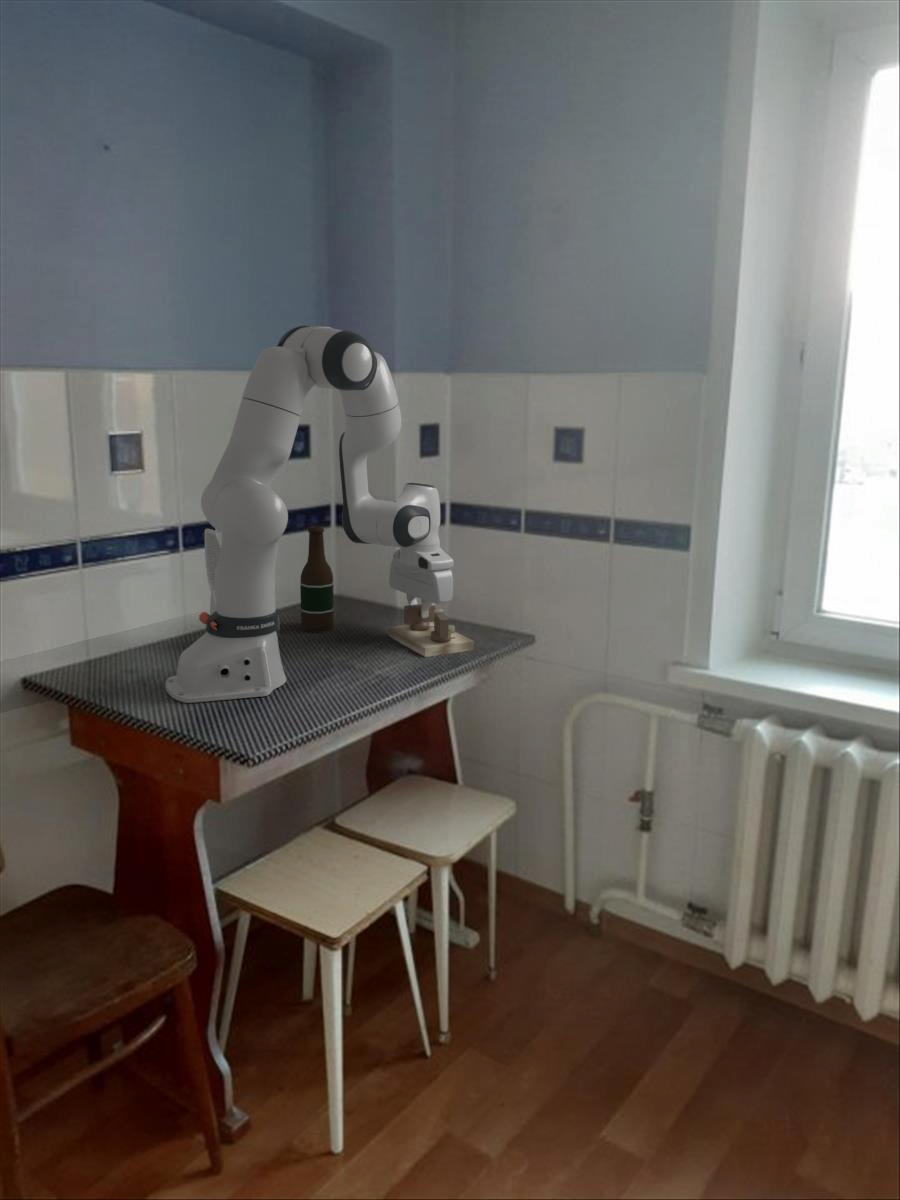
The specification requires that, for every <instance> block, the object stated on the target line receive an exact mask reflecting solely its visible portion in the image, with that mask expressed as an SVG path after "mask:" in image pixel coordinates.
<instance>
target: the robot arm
mask: <svg viewBox="0 0 900 1200" xmlns="http://www.w3.org/2000/svg"><path fill="white" fill-rule="evenodd" d="M314 386H316V387H317V388H323V389H331V390H335V389H337V390H338V392H339V393H340V396H341V401H342V406H343V407H342V409H343V411H344V417H345V418H344V419H345V431H343V433H342V434H341V435H340V437H339V442H338V458H339V459H338V460H339V470H340V471H339V472H340V480H341V481H340V482H341V490H342V494H341V495H342V511H341V512H342V513H341V524H342V529H343V531H344V533H345V535H346V536H347V538H348V539H349V540H350V541H351V542H353V543H355V544H362V545H363V544H365V545H371V544H373V545H378V546H383V547H394V548H399V549H397V550H396V551H394V553H393V554H392V555H393V556H392V559H391V563H390V566H389V567H390V568H389V578H388V579H389V580H388V582H389V586H390V588H391V589H393V590H395V591H399V592H401V593H404V594H406V600H407V603H408V605H416V604H418V601H417V598H419V599H420V600H421V601H420V604H423V605H422V608H421V609H419V616H420V617H422V618H427V617H428V616H429V609H430V607H431V605H432V603H435V604H436V605H438V606H439V605H440V606H441V605H446V604H450V602H451V601H452V599H453V596H454V595H453V594H454V593H453V592H454V577H453V571H452V570H451V569H453V568H454V566H455V565H454V559H453V558H452V557H451V556H450V555H449V554H447V553H446V552H445V551H444V549H442V548H441V540H440V536H439V529H440V526H441V501H440V494H439V491H438V489H437V488H436V487H435V486H434V485H431V484H427V483H426V484H425V483H418V482H407V483H405V484H404V485H403V489H402V493H401V494H400V495H398V497H396V498H395V499H394V500H382V499H377V498H374V497H373V496H372V495H371V494H370V492H369V481H368V467H367V466H368V465H367V463H368V461H367V460H368V458H369V456H371V455H373V454H376V453H377V452H379V451H383V450H384V449H386V448H387V447H389V446H390V445H391V444H393V443H394V441H396V440H397V437H398V436H399V435H400V433H401V430H402V423H403V422H402V421H403V419H402V413H401V408H400V403H399V399H398V394H397V389H396V386H395V382H394V379H393V376H392V373H391V371H390V368H389V366H388V363H387V361H386V359H385V358H384V356H383V355H382V354H380V353H378V352H376V351H374V349H373V347H372V345H371V344H370V342H369V341H368V340H367V339H366V338H364V336H362V335H360V334H359V333H356V332H353V331H351V330H341V329H337V328H333V327H331V326H324V325H323V326H322V325H316V326H315V325H314V326H309V325H301V326H300V325H299V326H296V327H293V328H291V329H289V330H288V331H286V332H285V333H284V335H282V337H280V339H279V341H278V343H277V345H276V346H271V347H267V348H265V349H263V350H262V351H261V352H260V353H259V355H258V357H257V359H256V361H255V363H254V365H253V366H252V370H251V372H250V374H249V376H248V379H247V381H246V384H245V386H244V390H243V393H242V397H241V400H240V403H239V407H238V411H237V414H236V419H235V420H234V421H235V422H234V424H233V425H234V426H233V428H232V432H231V436H230V438H229V440H228V443H227V446H226V447H225V450H224V452H223V454H222V456H221V458H220V460H219V463H218V465H217V467H216V469H215V471H214V473H213V475H212V477H211V479H210V482H209V483H208V484H207V485H206V486H205V488H204V490H203V492H202V494H201V496H200V497H201V498H200V505H201V510H202V512H203V514H204V517H205V519H206V520H207V522H208V523H209V524H210V525H211V526H212V528H214V529H215V528H216V529H217V530H219V531H221V534H222V544H221V551H220V558H219V563H218V566H217V567H216V570H215V589H216V611H215V612H214V613H213V614H212V615H211V616H210V613H208V612H206V611H202V612H200V614H199V615H198V616H199V617H198V620H199V621H200V622H201V623H202V624H203V625H205V626H206V632H205V633H203V635H201V637H199V638H198V639H197V640H195V641H194V642H193V643H192V644H191V645H189V646H188V647H187V648H186V649H185V650H184V651H182V653H181V654H179V655H180V656H179V657H178V662H177V668H176V675H172V676H169V677H168V678H167V679H166V680H165V686H164V687H165V688H164V689H165V692H166V693H167V694H168V695H169V696H170V697H171V698H173V699H174V700H176V701H178V702H182V703H187V704H191V703H202V702H215V701H225V700H227V701H228V700H236V699H237V700H238V699H247V698H257V697H267V696H269V695H270V694H271V693H272V692H273V691H274V690H275V689H277V688H279V687H281V686H283V685H284V684H285V683H286V682H287V676H286V673H285V671H284V667H283V663H282V658H281V653H280V646H279V640H278V638H279V636H280V618H279V610H278V608H277V606H276V605H277V604H276V603H277V602H276V601H277V600H276V595H277V594H276V566H277V560H278V559H277V558H278V554H279V548H280V542H281V539H282V538H281V537H282V535H283V534H284V532H285V530H286V529H287V525H288V521H289V512H288V509H287V505H285V502H284V501H283V500H282V498H281V497H280V496H279V495H278V494H277V493H276V492H275V490H274V489H272V485H273V482H275V480H276V477H277V476H278V473H279V472H280V469H281V468H282V467H283V466H284V464H286V463H287V461H288V460H289V458H290V457H291V454H292V453H291V452H292V449H293V446H294V442H295V438H296V435H297V431H298V428H299V425H300V421H301V418H302V413H303V409H304V405H305V401H306V397H307V395H308V393H310V390H311V389H312V388H313V387H314Z"/></svg>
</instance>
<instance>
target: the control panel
mask: <svg viewBox="0 0 900 1200" xmlns="http://www.w3.org/2000/svg"><path fill="white" fill-rule="evenodd" d="M432 631H435V630H434V622H429V629H428V630H424V631H416V630H412V629H410V625H407V624H405V625H395V626H389V627H387V636H388V637H390V638H391V639H392V640H395V641H397V642H398V643H400V644H401V645H403V646H405V647H407V648H409V649H410V650H412V651H414V652H415V653H417V654H419V655H420V656H423V657H424V658H427V657H428V658H429V657H435V656H436V657H437V656H443V655H449V654H456V653H463V652H469V651H474V649H475V647H474V646H475V641H474V640H473V639H470V638H469V637H466V636H464V635H462V633H461V634H460V633H459V632H457V631H456V626H455V625H453V624H449V627H448V631H450V632H451V641H448V642H434V641H432V640H431V632H432Z"/></svg>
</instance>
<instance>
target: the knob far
mask: <svg viewBox="0 0 900 1200" xmlns="http://www.w3.org/2000/svg"><path fill="white" fill-rule="evenodd" d="M422 605H423V603H417V604H416V605H409V604H408V605H404V606H403V607H404V610H403V611H404V613H403V617H404V618H403V623H404V624H405V625H410V629H412V630H416V631H424V630H428V629H429V622H434V610H436V605H437V604H435V603H432V605H431V607H430V609H429V616H428V617H427V618H422V617H420V616H419V609H421V608H422Z"/></svg>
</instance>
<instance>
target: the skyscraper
mask: <svg viewBox="0 0 900 1200" xmlns="http://www.w3.org/2000/svg"><path fill="white" fill-rule="evenodd" d="M214 529H215V530H214ZM214 529H211V528H205V529H204V556H205V568H206V576H207V581H208V586H209V590H210V601H209V606H210V607H209V615H210V616H211V615H212V614H213V613H214V612H215V611H216V589H215V570H216V567H217V566H218V563H219V558H220V551H221V544H222V534H221V531H219V530H217V529H216V528H214Z"/></svg>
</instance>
